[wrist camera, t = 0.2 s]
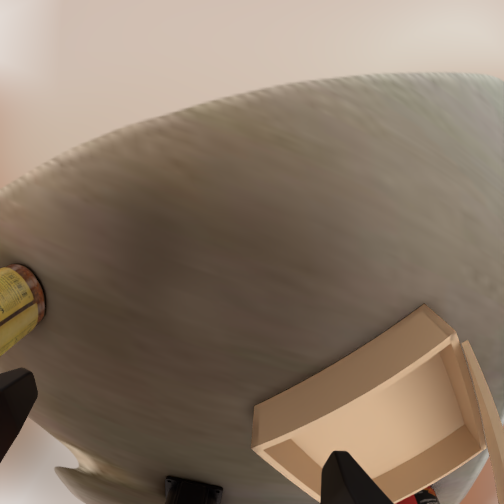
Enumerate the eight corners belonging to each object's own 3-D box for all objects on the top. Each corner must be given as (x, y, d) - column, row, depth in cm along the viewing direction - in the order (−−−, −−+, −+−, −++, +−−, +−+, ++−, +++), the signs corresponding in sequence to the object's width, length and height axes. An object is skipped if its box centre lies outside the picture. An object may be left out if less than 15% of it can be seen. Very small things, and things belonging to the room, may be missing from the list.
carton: (344, 490, 26) (350, 522, 22) (254, 405, 24) (251, 448, 19) (467, 420, 24) (486, 447, 19) (424, 303, 21) (455, 331, 16)
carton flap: (502, 545, 8) (508, 543, 8) (510, 503, 5) (520, 498, 5) (487, 445, 19) (491, 443, 18) (461, 343, 16) (467, 339, 16)
